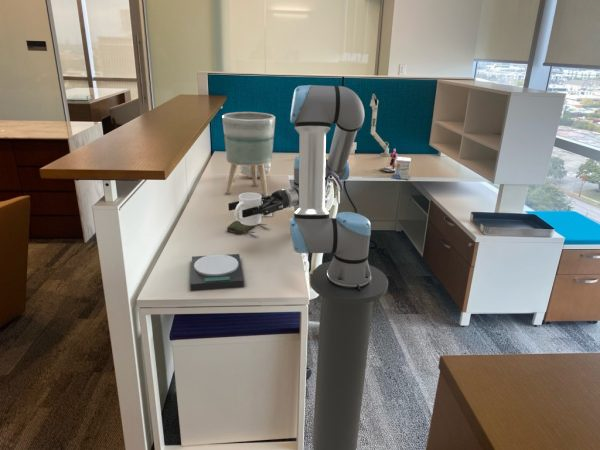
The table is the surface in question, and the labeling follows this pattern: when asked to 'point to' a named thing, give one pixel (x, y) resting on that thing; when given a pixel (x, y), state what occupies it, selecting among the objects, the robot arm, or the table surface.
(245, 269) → the table surface
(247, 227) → the landmine
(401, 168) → the ink box
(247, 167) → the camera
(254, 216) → the mug
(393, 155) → the statue
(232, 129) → the planter
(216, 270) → the scale
